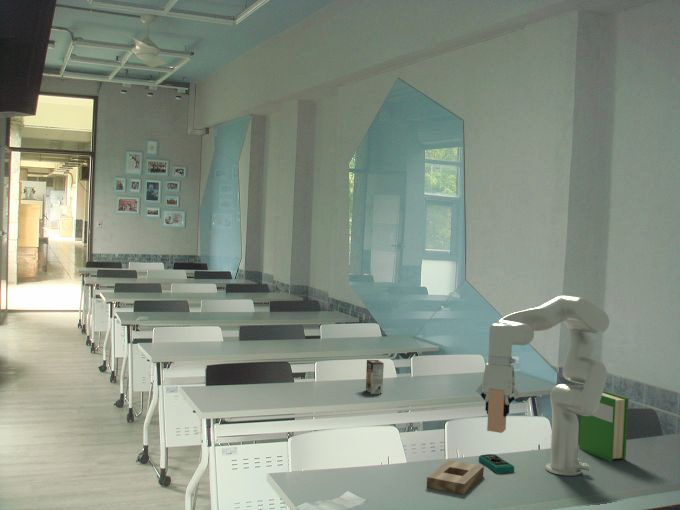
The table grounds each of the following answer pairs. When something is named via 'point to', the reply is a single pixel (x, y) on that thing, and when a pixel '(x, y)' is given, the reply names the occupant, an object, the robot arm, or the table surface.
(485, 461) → the digital multimeter
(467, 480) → the wooden peg hole block
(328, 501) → the table surface
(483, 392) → the robot arm
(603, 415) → the hardback book
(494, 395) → the square peg
